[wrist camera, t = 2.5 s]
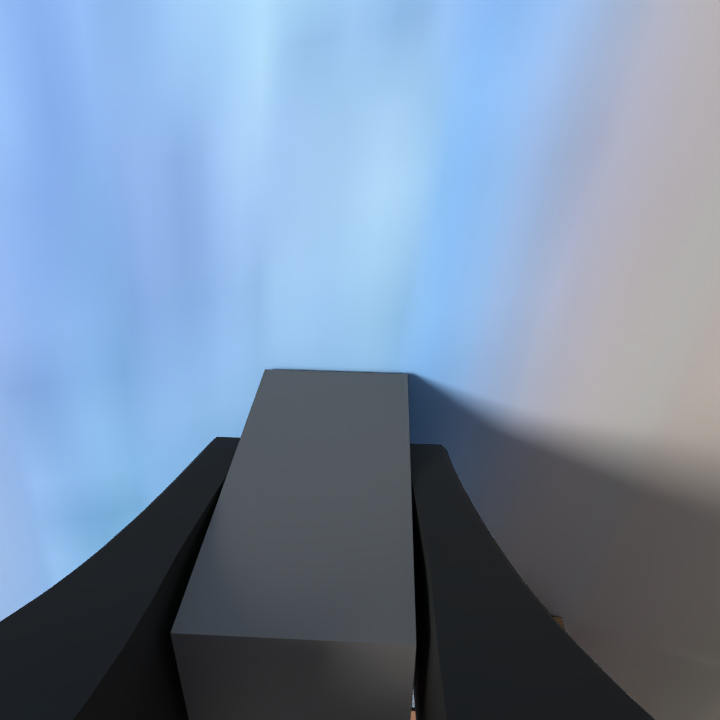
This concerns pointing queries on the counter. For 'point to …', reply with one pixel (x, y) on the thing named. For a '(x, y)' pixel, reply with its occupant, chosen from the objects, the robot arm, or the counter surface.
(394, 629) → the grey and tan dumbbell
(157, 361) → the counter surface
